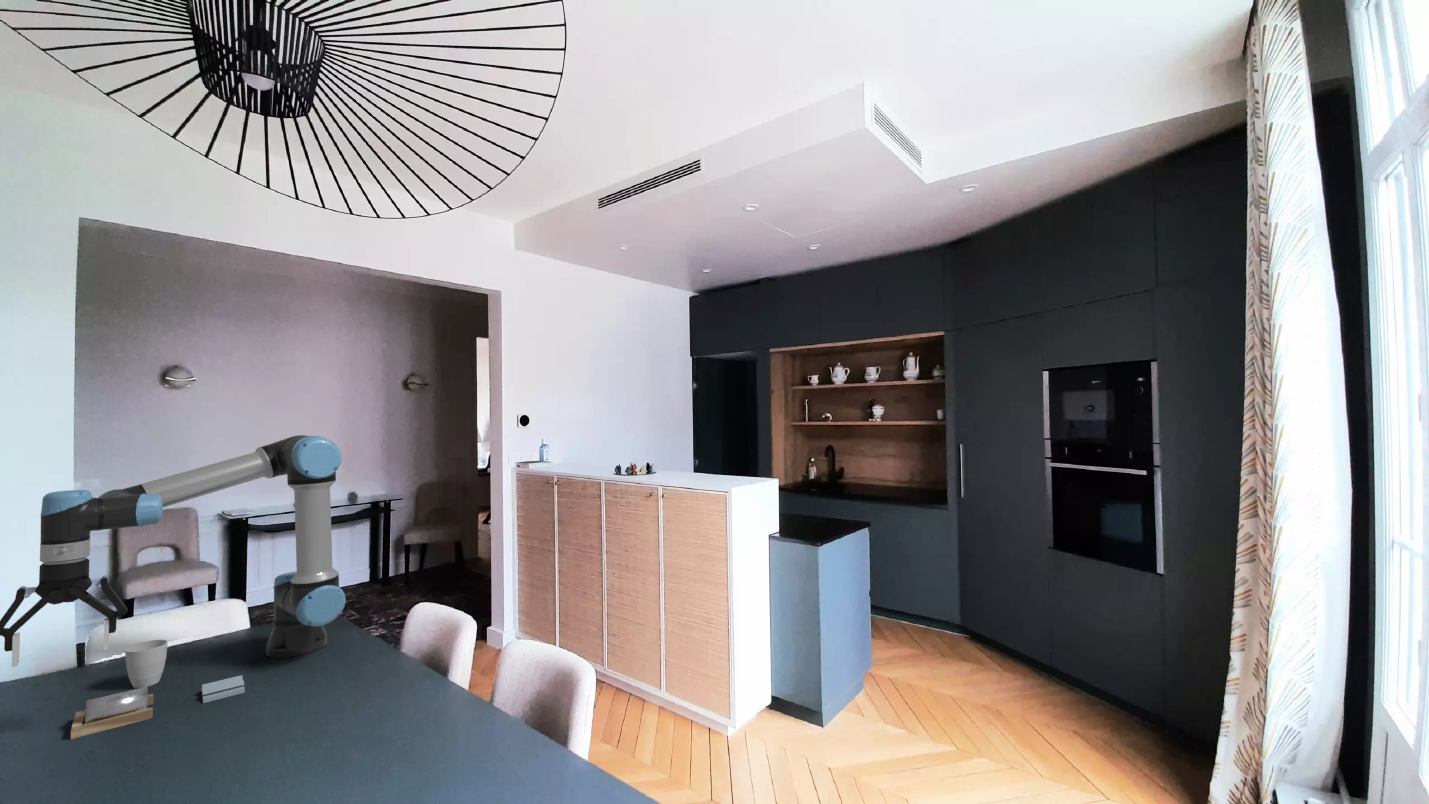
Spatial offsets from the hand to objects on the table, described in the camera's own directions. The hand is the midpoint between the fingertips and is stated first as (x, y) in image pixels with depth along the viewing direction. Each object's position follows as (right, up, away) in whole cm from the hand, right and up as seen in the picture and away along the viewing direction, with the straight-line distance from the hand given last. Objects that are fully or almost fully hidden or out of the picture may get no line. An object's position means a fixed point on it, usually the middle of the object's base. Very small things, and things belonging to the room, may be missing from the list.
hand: (62, 656), depth 131 cm
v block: (+20, -18, +19) cm, 33 cm away
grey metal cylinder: (+6, -18, +6) cm, 19 cm away
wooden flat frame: (+6, -17, +6) cm, 19 cm away
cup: (-4, -18, +24) cm, 30 cm away
